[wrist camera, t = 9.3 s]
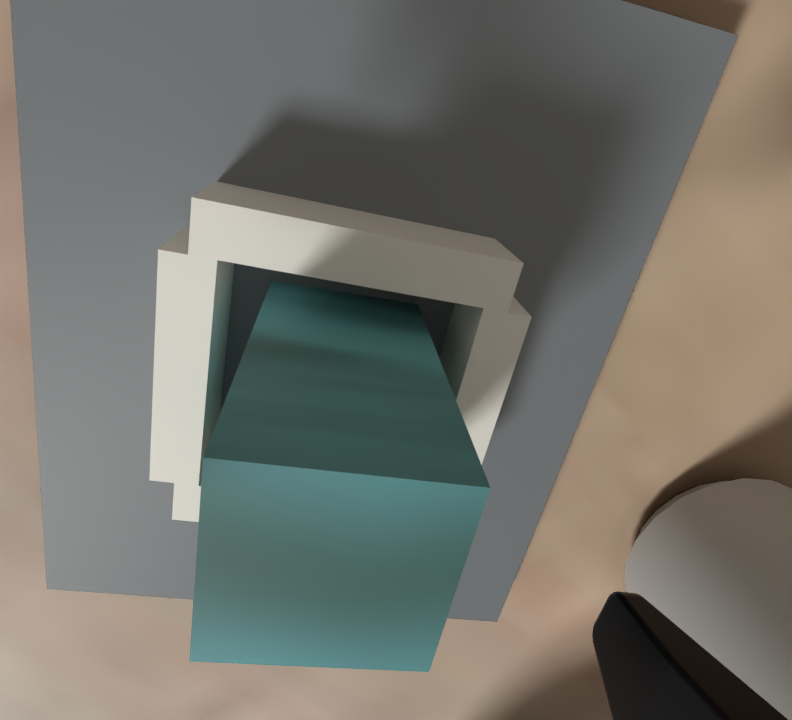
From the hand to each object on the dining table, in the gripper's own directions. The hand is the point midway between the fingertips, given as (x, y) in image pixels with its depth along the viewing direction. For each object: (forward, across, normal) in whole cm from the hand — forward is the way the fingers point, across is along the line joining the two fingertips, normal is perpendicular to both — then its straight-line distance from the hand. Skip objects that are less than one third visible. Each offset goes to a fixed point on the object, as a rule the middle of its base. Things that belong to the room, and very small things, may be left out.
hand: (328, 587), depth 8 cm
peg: (+8, 0, 0) cm, 8 cm away
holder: (+10, 0, 0) cm, 10 cm away
